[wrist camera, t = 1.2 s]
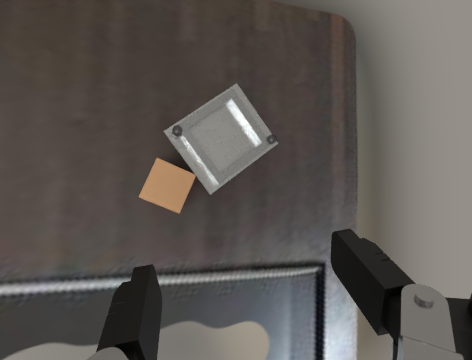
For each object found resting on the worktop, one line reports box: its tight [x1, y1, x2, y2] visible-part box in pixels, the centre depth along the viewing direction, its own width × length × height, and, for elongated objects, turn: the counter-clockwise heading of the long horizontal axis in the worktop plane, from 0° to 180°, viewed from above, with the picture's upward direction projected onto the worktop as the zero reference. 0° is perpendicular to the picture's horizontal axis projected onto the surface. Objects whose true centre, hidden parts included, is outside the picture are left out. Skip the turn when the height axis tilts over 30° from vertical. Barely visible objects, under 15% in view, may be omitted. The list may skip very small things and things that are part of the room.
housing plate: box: [163, 83, 278, 195], centre depth 37 cm, size 12×10×3 cm
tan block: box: [139, 158, 196, 213], centre depth 32 cm, size 4×4×10 cm
